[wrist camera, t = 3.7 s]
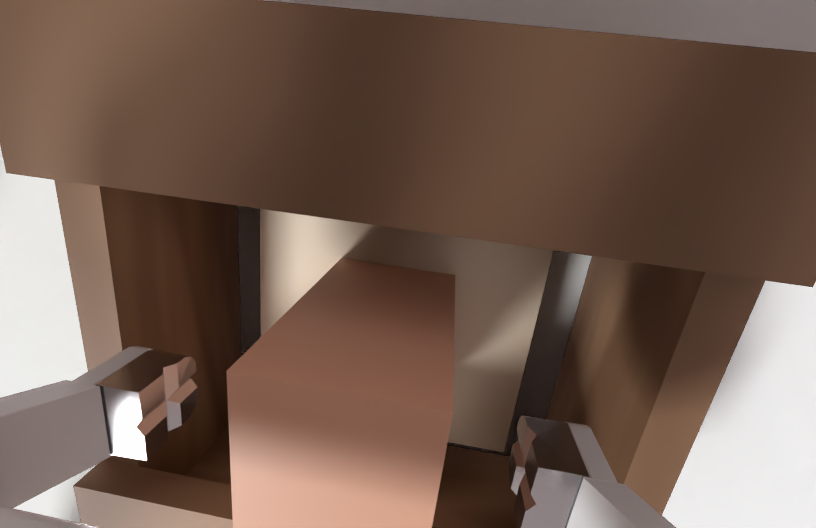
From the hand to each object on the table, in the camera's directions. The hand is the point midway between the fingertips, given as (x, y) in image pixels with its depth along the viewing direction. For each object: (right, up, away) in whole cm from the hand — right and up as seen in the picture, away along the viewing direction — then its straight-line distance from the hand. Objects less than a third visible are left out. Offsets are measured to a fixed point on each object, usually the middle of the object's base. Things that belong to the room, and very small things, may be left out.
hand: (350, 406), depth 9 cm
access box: (+1, +2, +6) cm, 7 cm away
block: (+1, +2, +4) cm, 5 cm away
